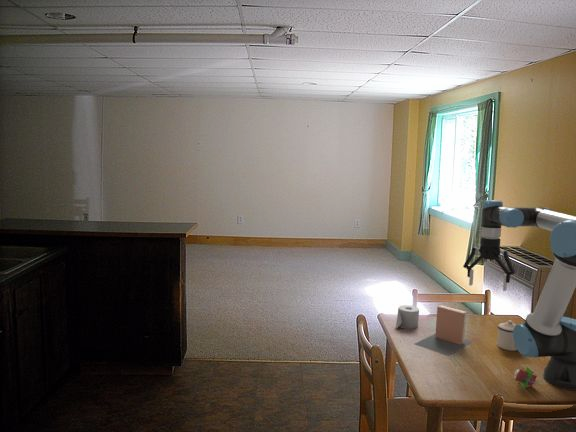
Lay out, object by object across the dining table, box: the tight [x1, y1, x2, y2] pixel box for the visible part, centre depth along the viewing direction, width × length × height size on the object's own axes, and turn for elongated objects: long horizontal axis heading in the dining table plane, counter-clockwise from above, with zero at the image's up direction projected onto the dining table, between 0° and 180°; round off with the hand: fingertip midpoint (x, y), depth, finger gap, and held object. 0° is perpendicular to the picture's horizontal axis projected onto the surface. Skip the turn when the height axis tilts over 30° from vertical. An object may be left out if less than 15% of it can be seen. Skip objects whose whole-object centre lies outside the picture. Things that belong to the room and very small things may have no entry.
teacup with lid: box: [496, 319, 518, 352], centre depth 214 cm, size 12×9×12 cm
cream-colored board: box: [434, 305, 467, 345], centre depth 217 cm, size 3×12×14 cm, turn 44°
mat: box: [414, 333, 473, 356], centre depth 215 cm, size 22×16×1 cm
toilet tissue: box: [395, 304, 420, 330], centre depth 233 cm, size 9×13×9 cm
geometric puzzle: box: [513, 366, 538, 390], centre depth 177 cm, size 7×7×8 cm
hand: (487, 287), depth 209 cm, fingers open, 13 cm apart
